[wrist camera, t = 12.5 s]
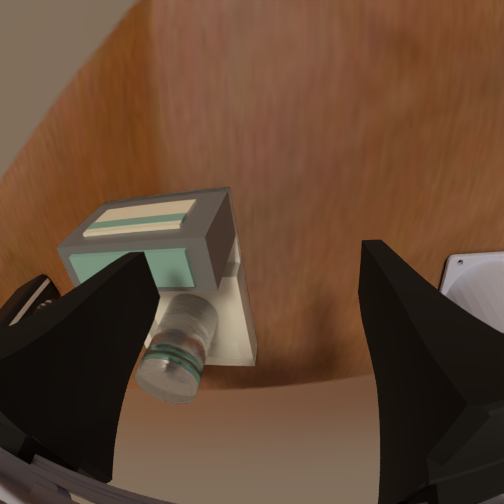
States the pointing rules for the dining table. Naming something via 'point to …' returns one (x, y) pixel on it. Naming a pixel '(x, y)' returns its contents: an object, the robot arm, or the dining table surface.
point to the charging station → (176, 259)
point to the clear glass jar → (178, 350)
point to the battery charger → (27, 301)
